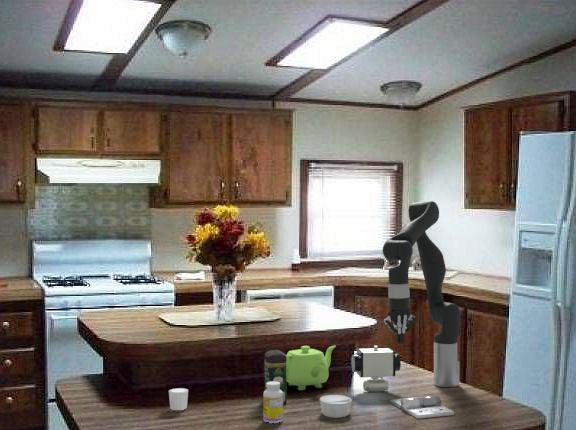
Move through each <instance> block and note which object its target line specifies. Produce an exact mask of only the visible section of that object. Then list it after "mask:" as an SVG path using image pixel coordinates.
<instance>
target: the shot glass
mask: <svg viewBox="0 0 576 430" xmlns="http://www.w3.org/2000/svg"><path fill="white" fill-rule="evenodd" d="M168 396H169V397H168V399H169V409H172V410H184V409H186V408H187V407H188V400H189V399H188V397H189V389H187V388H184V387H178V388H172V389H171V388H170V389H169V390H168ZM187 409H188V408H187Z"/></svg>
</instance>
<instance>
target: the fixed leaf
mask: <svg viewBox="0 0 576 430" xmlns="http://www.w3.org/2000/svg"><path fill="white" fill-rule="evenodd" d="M417 397H418V396H415V397H414V396H413V397H412V398H417ZM420 397H421V398H422V400H423V407H429V406H439V405H442V399H441V397H440V396H439V395H433V396H432V395H431V396H420ZM407 398H408V397H405V398H404V397H403V398H395V399H394V398H393V399H390V400H389V403H390V404H392V405H393V406H395V407H396V408H398V409H400V410H402V408H401V400H402V399H407Z"/></svg>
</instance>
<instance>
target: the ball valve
mask: <svg viewBox="0 0 576 430" xmlns="http://www.w3.org/2000/svg"><path fill="white" fill-rule="evenodd" d="M401 363H402V362H401V356H400V354H399V352H398V353H397V352H396V351H395V350H393V349H392V348H390V347H389V348H386V347H385V348H379V345H373V348H356V352H355V354H352V355H351V370H352V372H353V373H356V374H357V375H358V376H359V377H360V378H369V379H367V380H363V383H362V387H363V391H364V392H368V393H375V392H376V393H377V392H378V393H382V392H386V391H388V390H389V381H388V380H386V379H384V378H386V377H387V378H389V377H393V378H394V377H396V373H397V372H399V371H400V370H401V367H402V366H401V365H402V364H401Z"/></svg>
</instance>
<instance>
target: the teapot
mask: <svg viewBox="0 0 576 430" xmlns="http://www.w3.org/2000/svg"><path fill="white" fill-rule="evenodd" d="M336 347H337V345H331V346H329V347H327V349H326V352H325V355H324V352H322V351H321V350H318V349H315V348H311V347H310V346H309V345H302V346H300V349H292V350H289V351H288V352H287V354H285V355H286V356H287V357H286V358H287V368H286V374H287V383H288V386H289V387H290V386H292V387H293V386H294V387H295V386H297V391H305V390H306V388H307V386H314V388H316V389H322V388H323V384H324V383H326V382H327V380H328V378H329V374H330V372H329V368H330V366H331V361H332V359H331V358H332V356H331V355H332V352H333V350H334V349H335V348H336Z"/></svg>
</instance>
